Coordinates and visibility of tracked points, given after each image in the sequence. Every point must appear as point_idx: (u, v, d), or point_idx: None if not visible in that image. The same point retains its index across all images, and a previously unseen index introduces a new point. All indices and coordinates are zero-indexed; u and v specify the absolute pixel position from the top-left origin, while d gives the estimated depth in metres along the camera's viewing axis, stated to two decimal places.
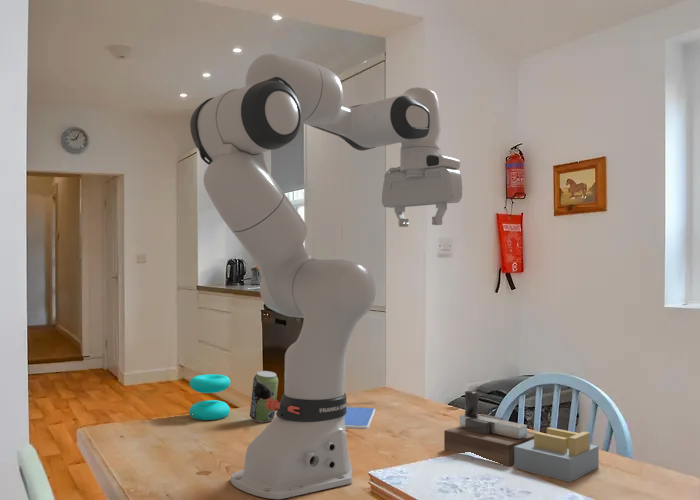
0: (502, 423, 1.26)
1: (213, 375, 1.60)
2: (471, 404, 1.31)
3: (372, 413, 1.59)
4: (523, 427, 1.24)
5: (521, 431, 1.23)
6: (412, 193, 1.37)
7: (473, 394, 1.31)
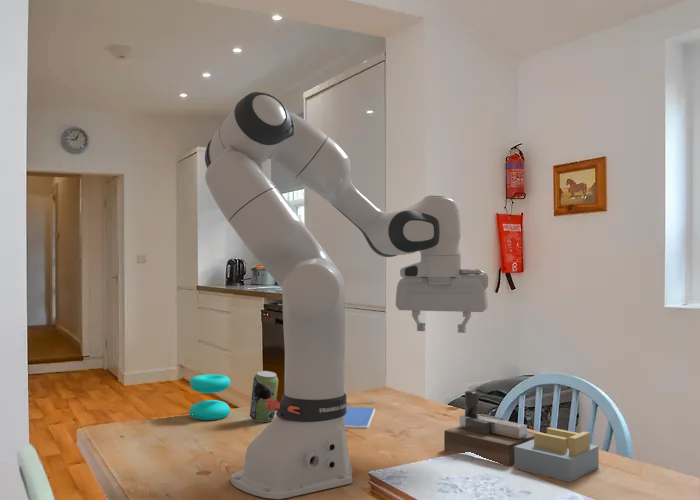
0: (502, 423, 1.26)
1: (213, 375, 1.60)
2: (471, 404, 1.31)
3: (372, 413, 1.59)
4: (523, 427, 1.24)
5: (521, 431, 1.23)
6: None
7: (473, 394, 1.31)
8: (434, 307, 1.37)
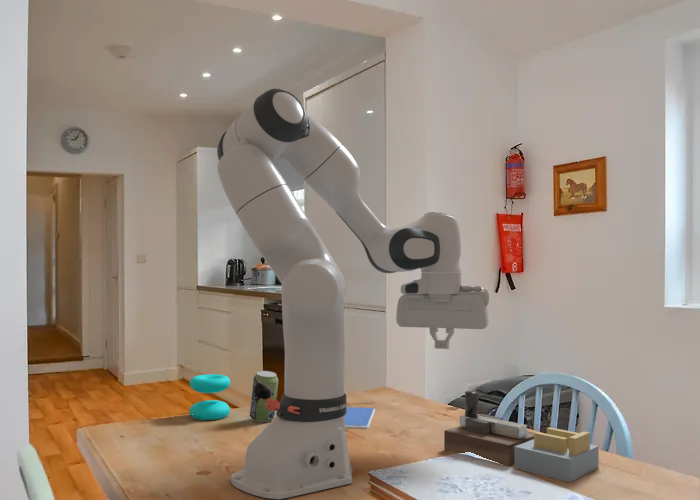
0: (502, 423, 1.26)
1: (213, 375, 1.60)
2: (471, 404, 1.31)
3: (372, 413, 1.59)
4: (523, 427, 1.24)
5: (521, 431, 1.23)
6: None
7: (473, 394, 1.31)
8: (435, 324, 1.37)
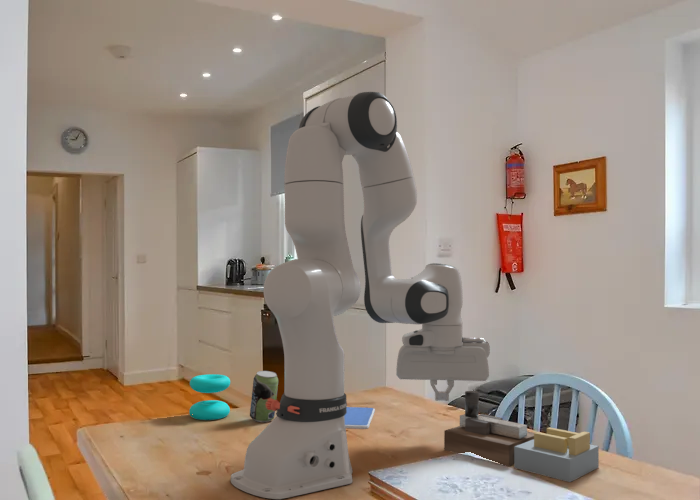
0: (502, 423, 1.26)
1: (213, 375, 1.60)
2: (471, 404, 1.31)
3: (372, 413, 1.59)
4: (523, 427, 1.24)
5: (521, 431, 1.23)
6: None
7: (473, 394, 1.31)
8: (438, 376, 1.36)
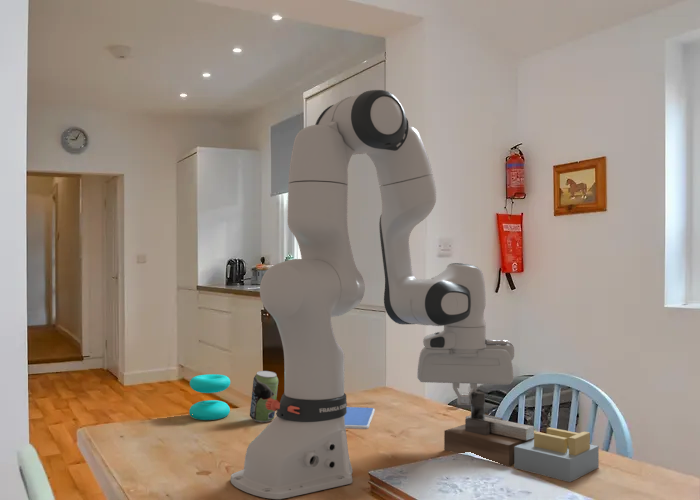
0: (509, 424, 1.25)
1: (213, 375, 1.60)
2: (477, 405, 1.30)
3: (372, 413, 1.59)
4: (530, 428, 1.23)
5: (528, 433, 1.22)
6: None
7: (479, 395, 1.30)
8: (460, 380, 1.32)
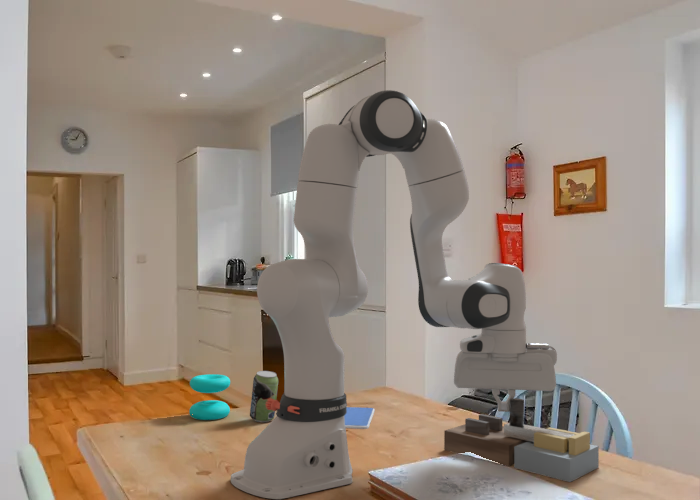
0: (551, 433, 1.18)
1: (213, 375, 1.60)
2: (517, 413, 1.23)
3: (371, 413, 1.59)
4: None
5: None
6: None
7: (519, 402, 1.23)
8: (499, 385, 1.26)
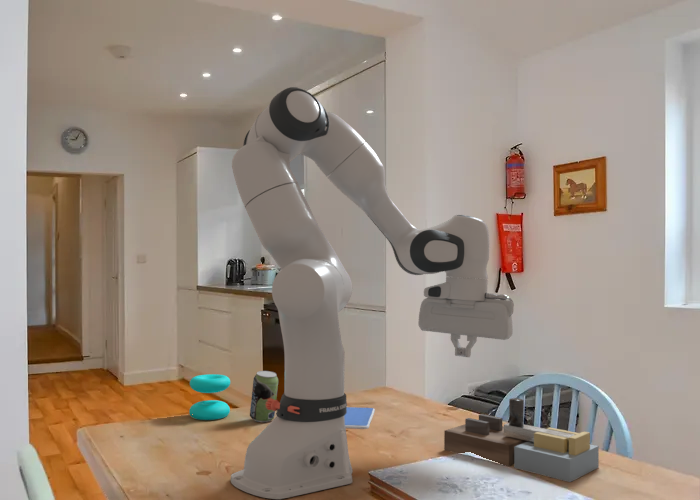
0: (551, 433, 1.18)
1: (213, 375, 1.60)
2: (517, 413, 1.23)
3: (371, 413, 1.59)
4: None
5: None
6: None
7: (518, 402, 1.23)
8: (456, 331, 1.32)
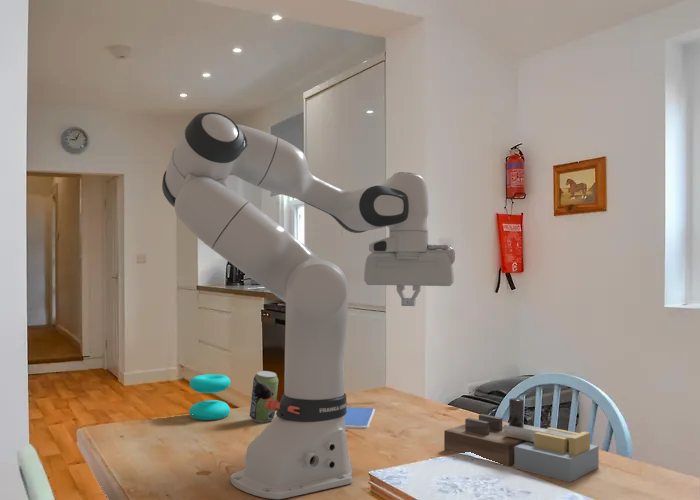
0: (551, 433, 1.18)
1: (213, 375, 1.60)
2: (517, 413, 1.23)
3: (372, 413, 1.59)
4: None
5: None
6: None
7: (518, 402, 1.23)
8: (402, 282, 1.40)
